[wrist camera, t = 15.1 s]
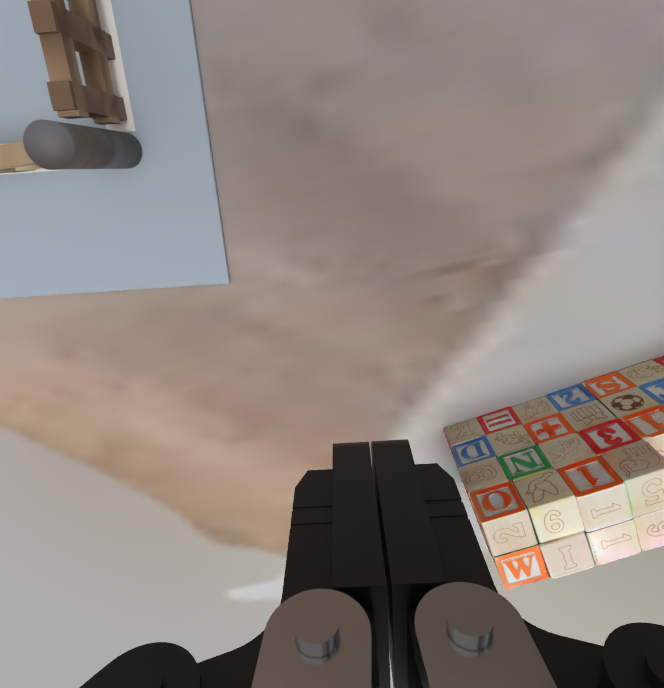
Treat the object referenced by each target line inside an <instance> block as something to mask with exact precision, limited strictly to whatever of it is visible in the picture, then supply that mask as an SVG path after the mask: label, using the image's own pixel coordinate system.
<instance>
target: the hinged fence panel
mask: <svg viewBox="0 0 664 688" xmlns="http://www.w3.org/2000/svg"><path fill="white" fill-rule="evenodd" d="M36 169H42V168H41V167H40V166H38V165H36V164H35V163H34V162H33V161H32V160H31V159H30V158H29V156H28V155H27V153H26V151H25V148H24V144H23V141H20V142H16V143H10V144H2V145H0V174H1V173H17V172H25V171H34V170H36Z"/></svg>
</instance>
